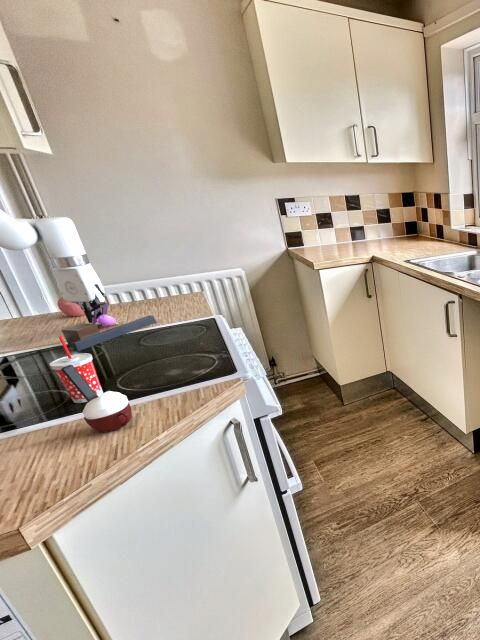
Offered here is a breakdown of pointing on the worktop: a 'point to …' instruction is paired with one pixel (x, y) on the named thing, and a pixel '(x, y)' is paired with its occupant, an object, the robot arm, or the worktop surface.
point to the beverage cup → (84, 369)
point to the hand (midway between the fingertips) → (96, 321)
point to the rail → (112, 333)
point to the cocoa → (101, 404)
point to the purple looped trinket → (103, 317)
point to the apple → (70, 308)
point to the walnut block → (79, 332)
